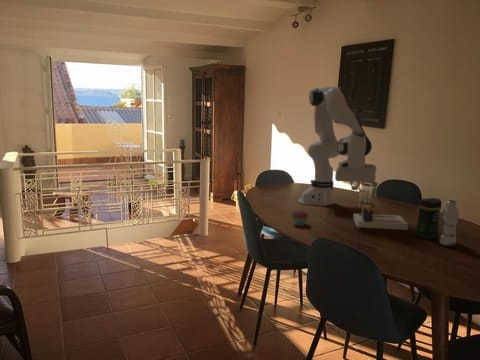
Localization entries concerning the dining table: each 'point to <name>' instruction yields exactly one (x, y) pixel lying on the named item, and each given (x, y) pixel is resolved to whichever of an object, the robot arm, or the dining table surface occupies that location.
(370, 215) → the fader
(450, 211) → the plastic bottle
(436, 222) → the coffee jar
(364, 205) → the fader
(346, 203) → the dining table surface
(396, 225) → the console
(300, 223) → the cupcake
